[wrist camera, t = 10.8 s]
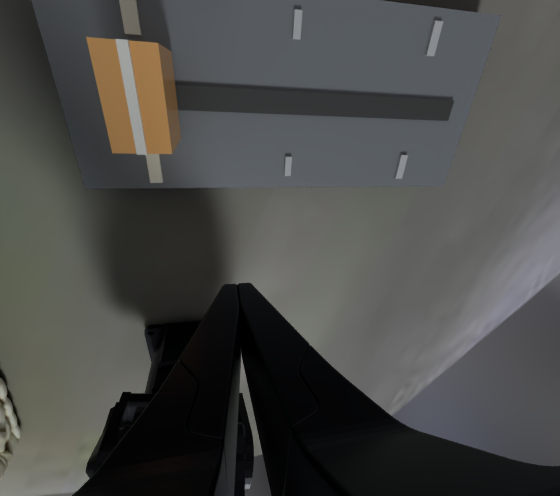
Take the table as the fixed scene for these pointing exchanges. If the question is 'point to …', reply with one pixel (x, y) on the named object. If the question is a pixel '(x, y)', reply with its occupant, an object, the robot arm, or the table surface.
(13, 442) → the storage basket
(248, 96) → the fader panel
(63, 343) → the table surface
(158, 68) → the fader knob
